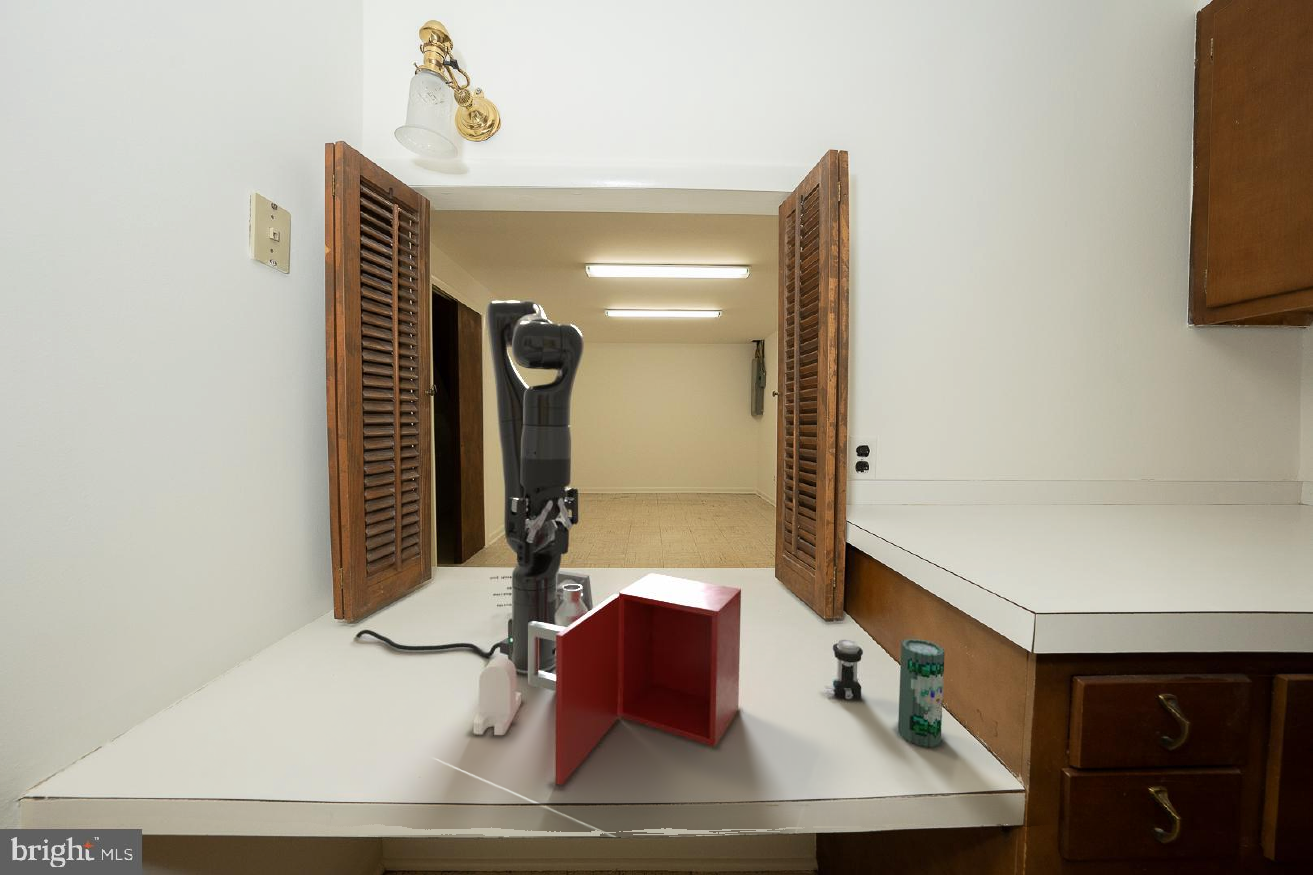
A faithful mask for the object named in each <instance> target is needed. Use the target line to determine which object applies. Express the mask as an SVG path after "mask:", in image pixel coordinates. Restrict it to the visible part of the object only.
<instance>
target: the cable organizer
mask: <svg viewBox="0 0 1313 875" xmlns="http://www.w3.org/2000/svg"><path fill="white" fill-rule="evenodd" d="M478 679H479V680H478V709H479V710H478V713H477V715H476V716H475V718H474V720H473V734H474V735H483V734H484V732H485V731H486V729H487V728H489V727H494V728H493V729H494V730H493V732H494V733H493V735H494V736H503V735H505V734H506V733H507V731H508V729H509V727H510V725H511V723H512V721H513V720H514V718H515V716H516V714H517V713H518V710H519V708H520V706H521V704H522V693H521V692H520V691H517V672H516V668H515V666H514V664H513V663H512V661H510V660H509V659H508V657H504V656H499V657H495V658H492V659H491V660H490V661H489V662H488V664H487V665H486V667H485V668H484V669H483V671H481V673H480V675H479V678H478Z"/></svg>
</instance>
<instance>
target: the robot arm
mask: <svg viewBox="0 0 1313 875" xmlns="http://www.w3.org/2000/svg"><path fill="white" fill-rule="evenodd" d="M486 327H487V328H486V329H487V335H488V341H489V348H490V353H491V354H490V355H491V361H492V366H493V367H492V368H493V374H494V382H495V383H494V384H495V394H496V407H497V409H496V410H497V424H498V433H499V442H500V449H501V461H502V463H501V464H502V472H503V473H502V474H503V484H504V516H503V518H504V519H503V521H504V523H503V524H504V536H505V540H506V543H507V545H508V546H509V548H510V550H512V552H514V554H516V562H517V563H516V565H515V567H514V568H513V570H512V573H511V577H512V578H511V588H512V589H511V593H512V594H511V618H509V619H508V621H507V637H506V638H505V639H503V640H500V641H499V642H497V643H495V644H493V645H492V646H491V647H490V650H489V651H488V652H485V651H483V650H482V649H481V648H480V647H478V646H477V645H475V644H473V643H469V642H455V643H447V644H438V645H405V644H400V643H396V642H395V641H393V640H392V639H390V638H388V637H386V636H384V635H382V634H379V633H378V632H376V631H373V630H371V629H362V630H360V631H359V632H357V634H356V635H355V637H357V638H360V637H362V636H363V635H369V636H372V637H373V638H376V639H377V640H379V641H382V642H384V643H386V644H388V645H389V646H390V647H392V648H393V649H397V650H402V651H418V652H419V651H441V650H449V649H457V648H458V649H459V648H465V649H472V650H474V651H475V652H476V653H477V654H478V655H480V656H481V657H483V658H490V657H492V656H493V655H494V653H495V651H496V650H497V649H498V648H499V653H500V654H503V655H507V659H509V660H510V661H512V663H513V664H514V666H515V668H516V674H517V673H518V674H520V675H521V674H522V675H528V623H529V622H533V621H536V622H541V623H546V624H551V625H555V620H554V614H555V611H556V609H557V576H558V572H559V571H560V568H561V565H562V555H566V554H568V553H569V546H570V530H571V529H572V527H573V525H578V523H579V490H578V488H577V487H576V488H575V487H569V485H570V484H571V477H572V474H571V473H572V472H571V470H572V435H571V402H572V393H573V389H574V384H575V380H576V376H577V372H578V370H579V366H580V364H581V360H582V357H583V353H584V348H585V343H584V337H583V335H582V333H581V331H580V330H579V329H578V327H576V326H575V325H572V324H567V323H557V322H552V321H550V320H549V319H547V317H546V314H545V312H544V310H543V308H542V307H541V305H540V304H539V303H538V302H535V301H534V300H533V301H532V300H525V299H522V300H521V299H519V300H517V299H515V300H512V299H511V300H509V299H507V300H503V299H502V300H501V299H500V300H491V301H489V303H488V304H487V307H486ZM508 348H511V352H512V353H511V354H512V356H513V359H514V361H515V363H516V364H517V365H518V366H520V367H522V368H525V369H531V370H545V371H546V370H547V371H548V370H549V371H557V373H556V376H555V378H554V379H553V380H552V381H551V382H547V383H543V384H537V385H532V386H528V385H527V384H526V382H524V380H523V379H522V377H521V376H520V374H519V372H518V371H517V370H516V367H515V366H514V365H513V362H512V360H511V357H510V353H509V351H508ZM570 511H571V515H570ZM555 668H556V641H553V640H548V639H543V638H539V671H543V672H547V673H548V672H549V671H551V670H553V669H555Z"/></svg>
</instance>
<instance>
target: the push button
mask: <svg viewBox="0 0 1313 875" xmlns="http://www.w3.org/2000/svg"><path fill="white" fill-rule="evenodd" d="M832 651H833V654H834V657H835V658H836V659H837V660H836V664H837V665H836V676H835V678H833V679H832V685H825V686H824V688H825V689H826V690H824V694H831V695H834V697H835V698H841V699H842V698H843V699H846V700H851V699H856V700H861V699H862V685H861V684H860V682H859V678H858V662H861V661H862V655H864V650H863V649H862V647H861V646H859V644H858V642H856V641H853V640H850V639H840V640H838V641H837V643H834V644H833V645H832ZM827 689H828V690H827Z"/></svg>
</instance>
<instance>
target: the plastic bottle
mask: <svg viewBox="0 0 1313 875" xmlns="http://www.w3.org/2000/svg"><path fill="white" fill-rule="evenodd" d="M562 598H563V600H562V602H561V603H560V604H559V606H558V607H557V609H556V611H555V614H554V620H555V625H556V626H561V627H568V626H569V625H571V624H572V623H574V622H575V621H577V620H578V619H579V618H581V617H582V616H584V615H585V614H587V613H588V612H589V611H588V609H587V608H586V606H585V604H584V603H583V602H582V600H581V598H582V586H580V585H577V584H569V585H565V586H563V588H562ZM554 674H556V667H554Z"/></svg>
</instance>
